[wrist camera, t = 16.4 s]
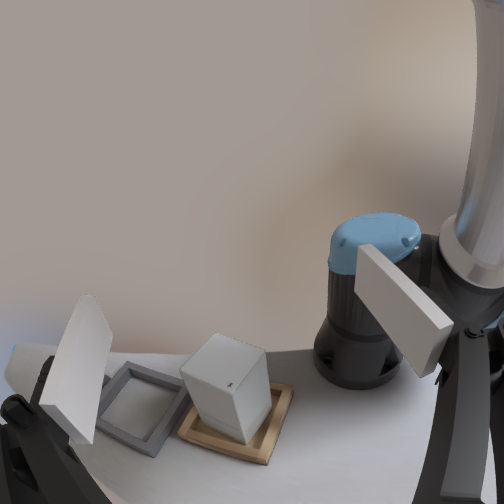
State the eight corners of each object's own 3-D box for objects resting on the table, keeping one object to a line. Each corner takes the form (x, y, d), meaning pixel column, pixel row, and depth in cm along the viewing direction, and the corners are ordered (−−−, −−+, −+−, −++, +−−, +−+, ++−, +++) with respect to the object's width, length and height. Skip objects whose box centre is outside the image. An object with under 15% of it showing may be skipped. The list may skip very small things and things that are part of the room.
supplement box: (274, 407, 39) (268, 349, 33) (246, 447, 33) (231, 396, 27) (230, 389, 42) (215, 329, 37) (201, 424, 37) (176, 369, 31)
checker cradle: (128, 367, 48) (124, 360, 47) (195, 390, 43) (192, 383, 42) (86, 420, 37) (80, 414, 36) (154, 458, 32) (149, 452, 31)
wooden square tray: (216, 377, 45) (214, 369, 44) (292, 394, 41) (292, 385, 40) (181, 439, 35) (177, 432, 34) (267, 465, 31) (266, 459, 30)
